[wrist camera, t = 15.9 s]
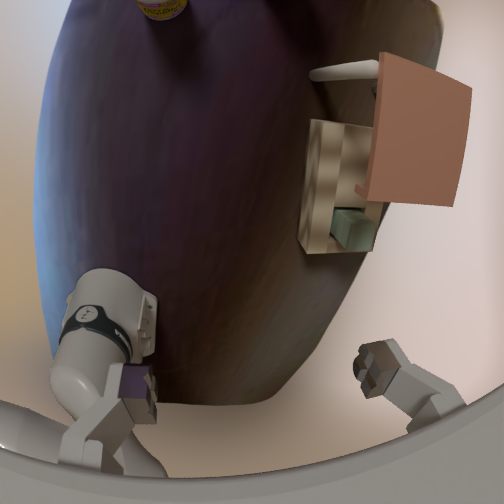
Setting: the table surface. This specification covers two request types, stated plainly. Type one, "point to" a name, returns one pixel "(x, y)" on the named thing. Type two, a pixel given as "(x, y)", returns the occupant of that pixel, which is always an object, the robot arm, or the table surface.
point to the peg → (352, 228)
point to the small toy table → (411, 130)
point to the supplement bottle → (162, 8)
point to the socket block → (333, 182)
